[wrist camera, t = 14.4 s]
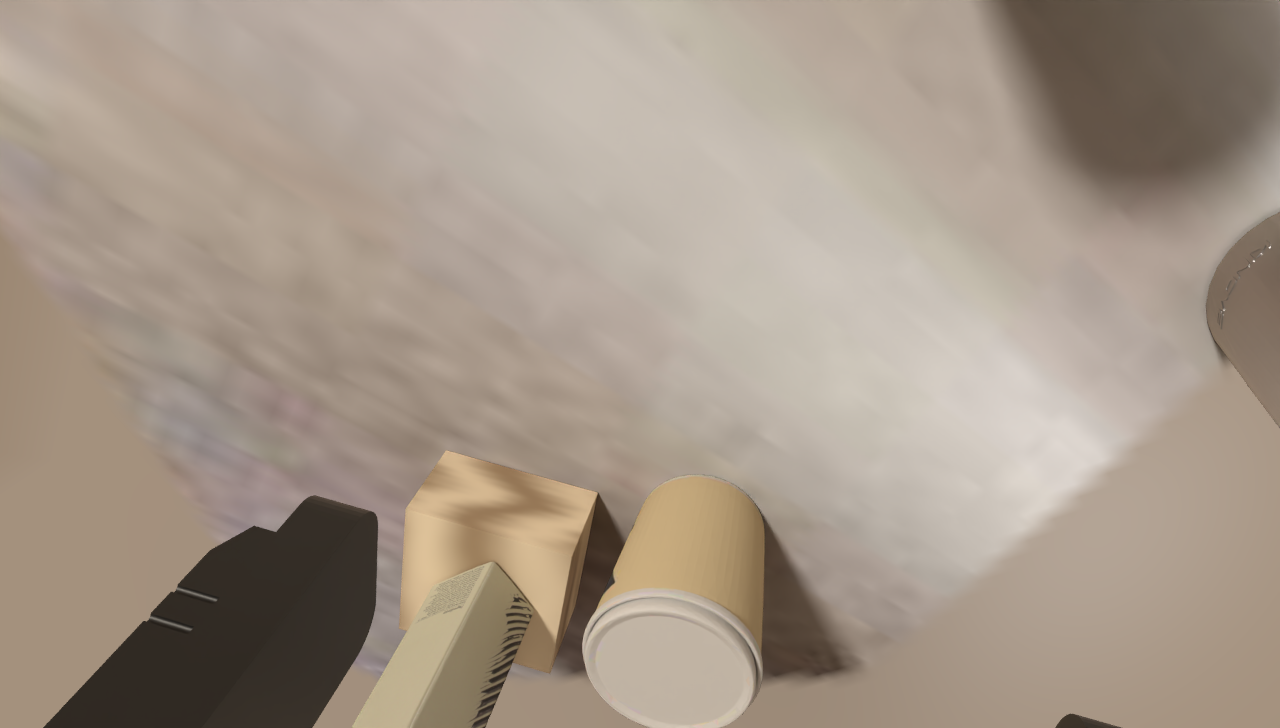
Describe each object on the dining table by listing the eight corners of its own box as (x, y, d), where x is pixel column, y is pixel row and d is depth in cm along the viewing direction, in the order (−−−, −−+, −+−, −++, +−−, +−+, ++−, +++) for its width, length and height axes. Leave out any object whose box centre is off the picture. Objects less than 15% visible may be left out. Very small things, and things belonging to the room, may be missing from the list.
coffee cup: (606, 478, 55) (549, 618, 45) (750, 448, 52) (725, 592, 42) (659, 591, 59) (618, 745, 49) (797, 570, 56) (785, 730, 45)
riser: (597, 492, 56) (571, 556, 51) (575, 605, 61) (549, 673, 56) (446, 450, 57) (405, 508, 52) (436, 565, 62) (399, 628, 57)
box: (475, 632, 55) (381, 822, 44) (431, 581, 54) (323, 765, 43) (540, 608, 53) (459, 801, 42) (497, 554, 52) (401, 740, 41)
